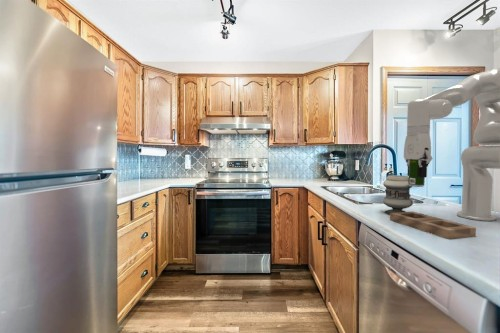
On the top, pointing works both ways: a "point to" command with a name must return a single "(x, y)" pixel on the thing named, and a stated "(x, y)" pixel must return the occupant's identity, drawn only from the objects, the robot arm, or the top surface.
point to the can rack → (434, 225)
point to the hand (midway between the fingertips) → (416, 176)
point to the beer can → (415, 174)
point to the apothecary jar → (397, 193)
